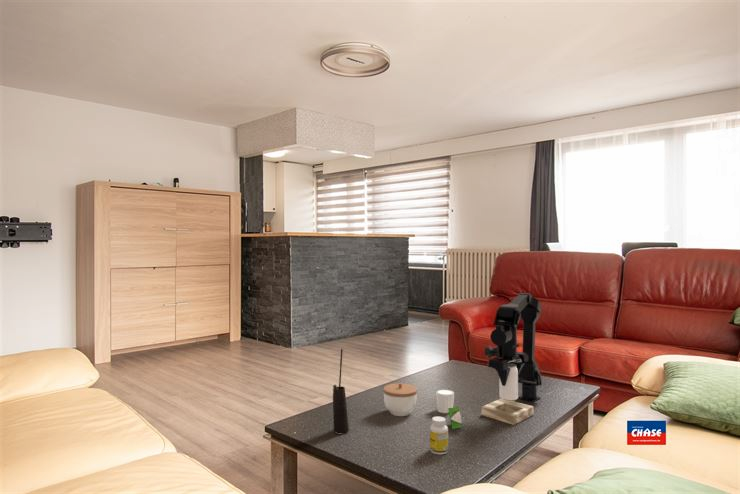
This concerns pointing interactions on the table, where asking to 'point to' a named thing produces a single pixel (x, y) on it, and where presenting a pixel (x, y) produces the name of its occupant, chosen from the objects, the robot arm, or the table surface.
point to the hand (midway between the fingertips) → (508, 383)
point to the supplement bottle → (439, 436)
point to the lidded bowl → (400, 398)
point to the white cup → (444, 400)
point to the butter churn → (340, 407)
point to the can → (510, 385)
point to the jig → (507, 411)
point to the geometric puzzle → (455, 417)
